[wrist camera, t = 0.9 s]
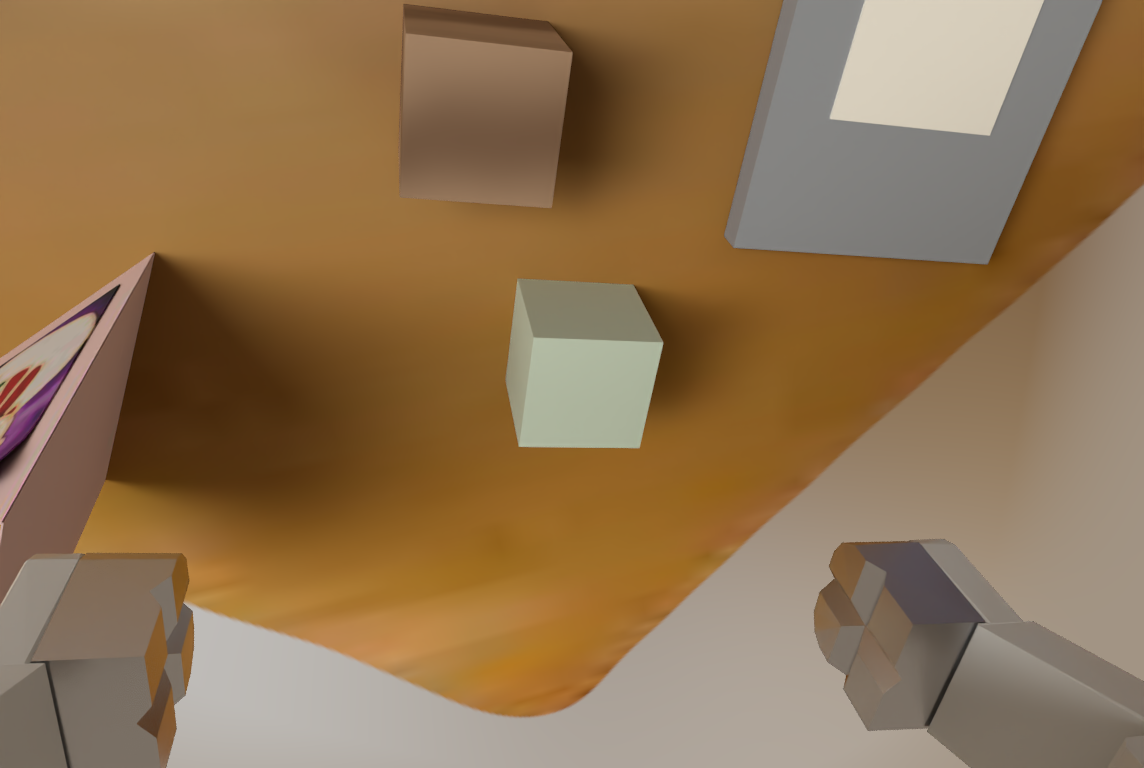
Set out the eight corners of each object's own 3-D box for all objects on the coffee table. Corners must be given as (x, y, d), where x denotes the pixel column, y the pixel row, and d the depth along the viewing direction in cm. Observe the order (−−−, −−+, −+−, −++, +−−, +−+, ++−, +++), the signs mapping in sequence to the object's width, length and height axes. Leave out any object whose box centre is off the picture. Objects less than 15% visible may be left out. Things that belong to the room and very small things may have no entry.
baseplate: (861, -307, 26) (880, -313, 25) (1177, -235, 29) (1208, -236, 28) (724, 236, 36) (734, 248, 35) (972, 253, 38) (988, 265, 37)
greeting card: (136, 234, 31) (-32, 499, 19) (275, 370, 35) (212, 661, 23) (-88, 390, 33) (-374, 725, 21) (69, 503, 37) (-93, 839, 25)
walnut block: (403, 3, 29) (405, 33, 25) (547, 21, 30) (572, 52, 26) (398, 148, 31) (399, 197, 27) (531, 159, 32) (551, 208, 28)
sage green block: (517, 277, 35) (533, 337, 31) (632, 284, 36) (663, 342, 32) (505, 379, 38) (518, 446, 34) (613, 382, 39) (639, 448, 35)
